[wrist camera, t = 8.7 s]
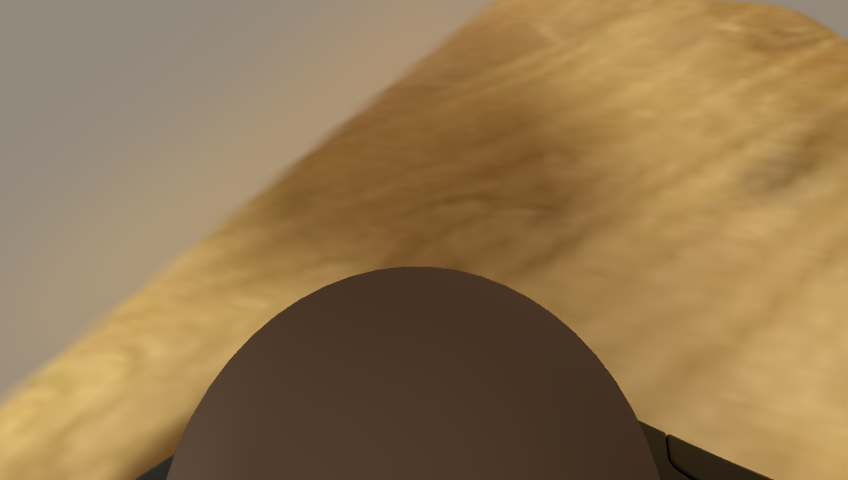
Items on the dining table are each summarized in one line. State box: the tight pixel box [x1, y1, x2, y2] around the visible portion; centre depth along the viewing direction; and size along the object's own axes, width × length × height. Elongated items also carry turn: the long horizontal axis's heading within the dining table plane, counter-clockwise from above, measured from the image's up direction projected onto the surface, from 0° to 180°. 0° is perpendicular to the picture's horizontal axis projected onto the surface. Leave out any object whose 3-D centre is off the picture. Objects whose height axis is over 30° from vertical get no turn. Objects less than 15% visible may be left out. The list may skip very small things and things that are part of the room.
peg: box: [166, 267, 660, 480], centre depth 9 cm, size 4×4×12 cm
